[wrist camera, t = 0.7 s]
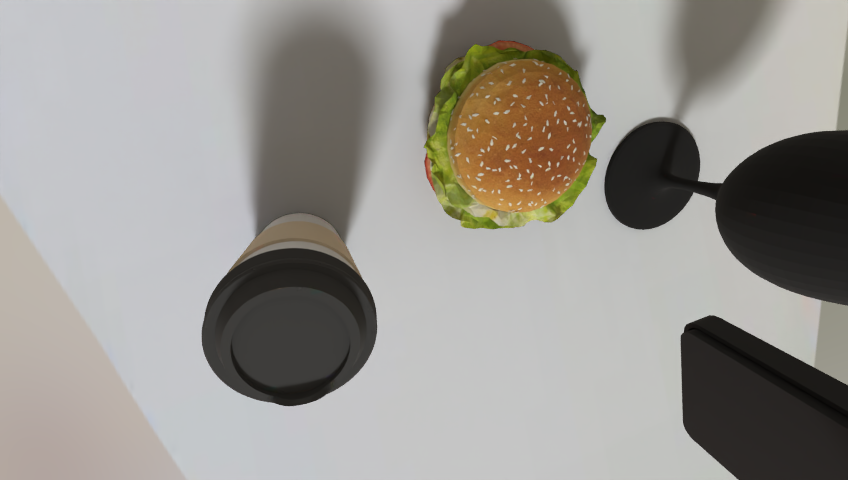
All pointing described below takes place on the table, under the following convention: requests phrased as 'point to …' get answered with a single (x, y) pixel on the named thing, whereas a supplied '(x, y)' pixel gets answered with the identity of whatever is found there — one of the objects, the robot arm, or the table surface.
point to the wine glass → (748, 202)
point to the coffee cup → (290, 315)
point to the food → (509, 137)
